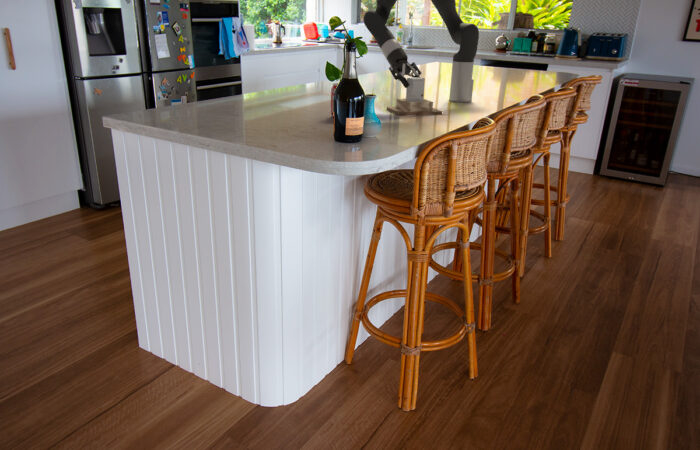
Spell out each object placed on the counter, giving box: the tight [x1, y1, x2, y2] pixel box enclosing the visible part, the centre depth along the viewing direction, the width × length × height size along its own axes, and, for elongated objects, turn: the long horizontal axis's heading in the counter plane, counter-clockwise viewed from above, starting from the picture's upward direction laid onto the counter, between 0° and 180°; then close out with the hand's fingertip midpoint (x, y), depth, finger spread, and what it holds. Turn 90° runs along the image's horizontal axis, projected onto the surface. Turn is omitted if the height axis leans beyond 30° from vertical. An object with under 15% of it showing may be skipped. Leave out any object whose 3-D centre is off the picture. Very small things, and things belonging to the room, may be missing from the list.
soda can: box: [330, 82, 339, 117], centre depth 204 cm, size 7×7×12 cm
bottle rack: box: [386, 97, 443, 117], centre depth 218 cm, size 18×14×5 cm
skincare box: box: [405, 77, 426, 102], centre depth 217 cm, size 6×4×12 cm
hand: (414, 85), depth 215 cm, fingers open, 8 cm apart
